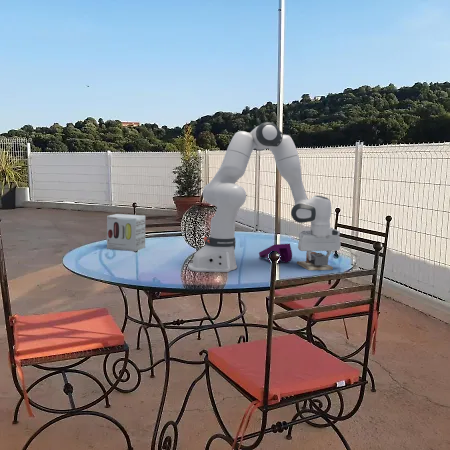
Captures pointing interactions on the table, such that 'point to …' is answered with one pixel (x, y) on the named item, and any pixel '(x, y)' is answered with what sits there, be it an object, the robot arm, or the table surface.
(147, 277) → the table surface
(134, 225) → the supplement box
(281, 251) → the mounting bracket
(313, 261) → the collar
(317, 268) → the post board
